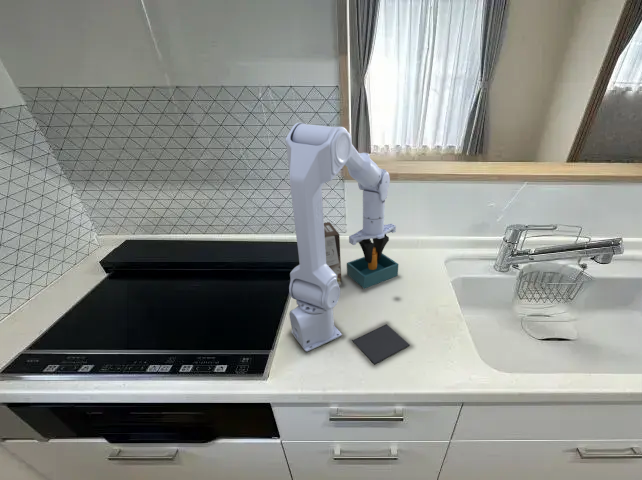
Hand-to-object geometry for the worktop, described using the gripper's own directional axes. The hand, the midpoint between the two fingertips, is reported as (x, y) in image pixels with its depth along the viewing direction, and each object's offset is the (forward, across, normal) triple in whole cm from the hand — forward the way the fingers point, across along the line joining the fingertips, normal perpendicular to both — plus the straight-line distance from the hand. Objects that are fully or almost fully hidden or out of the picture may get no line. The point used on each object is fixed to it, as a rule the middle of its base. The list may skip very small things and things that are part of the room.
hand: (372, 260), depth 93 cm
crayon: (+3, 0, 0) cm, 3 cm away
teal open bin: (+6, 0, 0) cm, 6 cm away
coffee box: (+6, -12, +6) cm, 15 cm away
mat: (+6, -15, -24) cm, 29 cm away
